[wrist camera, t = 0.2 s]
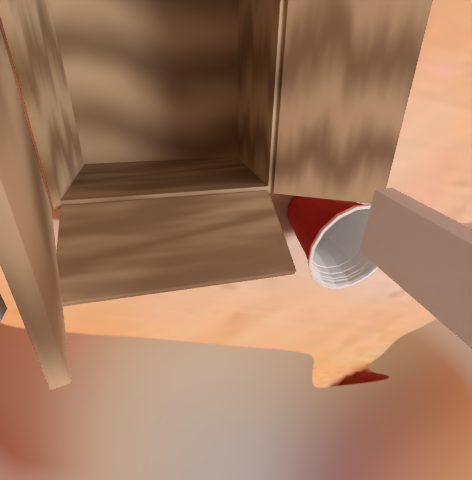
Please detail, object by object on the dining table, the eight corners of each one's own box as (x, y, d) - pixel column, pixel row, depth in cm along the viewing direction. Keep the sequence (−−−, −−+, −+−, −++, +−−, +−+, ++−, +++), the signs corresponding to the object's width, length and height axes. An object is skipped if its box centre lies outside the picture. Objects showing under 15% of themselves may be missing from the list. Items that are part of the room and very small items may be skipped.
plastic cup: (291, 257, 47) (332, 308, 37) (256, 204, 42) (293, 247, 32) (351, 215, 47) (410, 256, 36) (324, 156, 41) (384, 184, 31)
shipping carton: (4, -182, 22) (-366, -849, 6) (329, -124, 28) (580, -389, 12) (88, 204, 36) (43, 311, 20) (295, 189, 42) (391, 262, 26)
